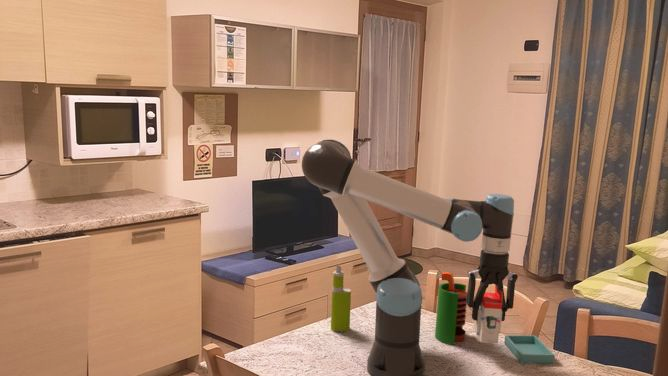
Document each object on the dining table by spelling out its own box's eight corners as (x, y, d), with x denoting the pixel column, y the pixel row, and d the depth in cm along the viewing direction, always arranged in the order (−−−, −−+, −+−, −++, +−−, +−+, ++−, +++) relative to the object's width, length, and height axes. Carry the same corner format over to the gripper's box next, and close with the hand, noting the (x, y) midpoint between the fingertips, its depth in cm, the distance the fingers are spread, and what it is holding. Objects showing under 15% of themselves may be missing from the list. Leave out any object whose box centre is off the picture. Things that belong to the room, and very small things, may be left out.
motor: (465, 346, 169) (469, 280, 166) (434, 342, 171) (438, 277, 167) (464, 332, 179) (468, 270, 176) (435, 329, 180) (439, 267, 177)
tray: (520, 363, 159) (521, 354, 158) (504, 343, 172) (504, 335, 171) (553, 363, 159) (554, 354, 159) (534, 343, 172) (535, 335, 172)
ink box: (474, 330, 166) (479, 281, 164) (491, 331, 166) (496, 282, 164) (480, 343, 158) (485, 291, 156) (498, 344, 158) (504, 293, 155)
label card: (477, 341, 172) (477, 340, 172) (471, 333, 178) (471, 332, 178) (493, 341, 172) (493, 340, 172) (487, 333, 178) (487, 332, 178)
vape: (330, 326, 180) (331, 264, 177) (349, 326, 181) (351, 265, 178) (330, 331, 177) (332, 268, 174) (350, 331, 177) (352, 268, 174)
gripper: (466, 253, 154) (458, 335, 157) (532, 255, 155) (523, 337, 159) (458, 245, 161) (451, 324, 165) (522, 248, 162) (513, 326, 166)
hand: (486, 331), depth 162 cm, fingers closed on ink box, 5 cm apart
